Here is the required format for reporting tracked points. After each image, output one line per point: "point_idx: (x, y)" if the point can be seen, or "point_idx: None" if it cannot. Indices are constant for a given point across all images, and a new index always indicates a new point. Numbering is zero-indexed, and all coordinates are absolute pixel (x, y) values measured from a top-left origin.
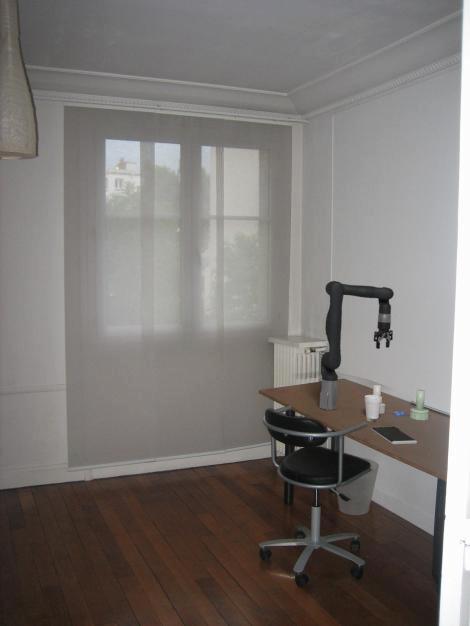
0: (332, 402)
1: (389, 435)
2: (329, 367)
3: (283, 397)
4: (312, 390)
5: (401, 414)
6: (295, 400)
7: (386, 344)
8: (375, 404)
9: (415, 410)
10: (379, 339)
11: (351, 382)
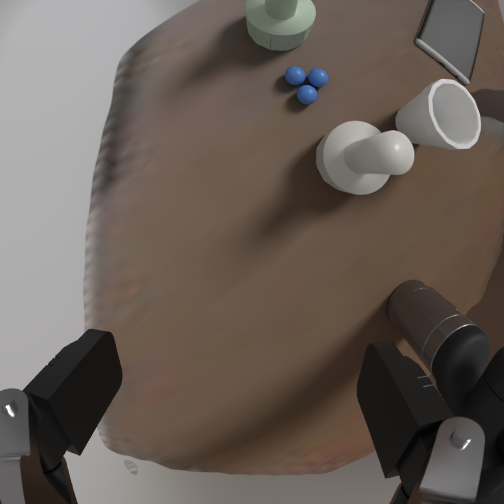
0: (431, 290)
1: (471, 26)
2: None
3: None
4: (268, 444)
5: (304, 72)
6: None
7: (98, 401)
8: (453, 96)
9: (302, 12)
10: (474, 486)
11: (111, 431)
